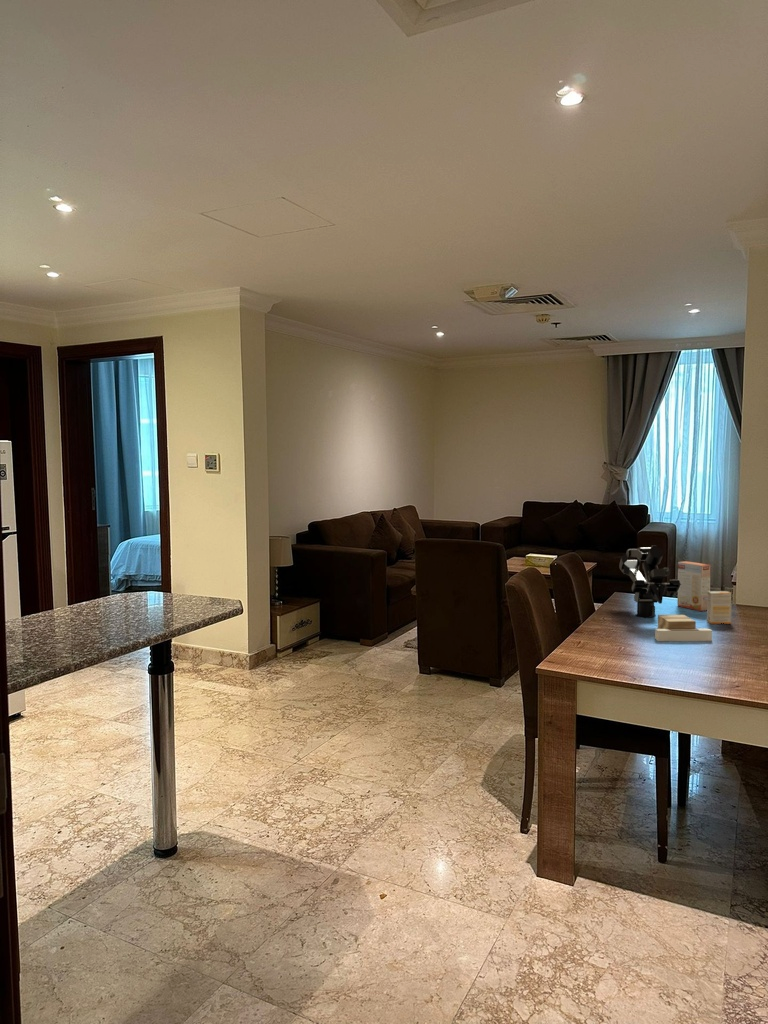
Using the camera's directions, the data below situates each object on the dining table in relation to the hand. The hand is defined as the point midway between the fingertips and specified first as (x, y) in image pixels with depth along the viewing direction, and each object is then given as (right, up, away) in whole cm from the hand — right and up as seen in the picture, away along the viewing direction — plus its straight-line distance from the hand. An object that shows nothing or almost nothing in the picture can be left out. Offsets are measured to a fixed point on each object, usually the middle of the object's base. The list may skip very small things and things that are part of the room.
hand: (660, 603), depth 293 cm
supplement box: (+26, -9, +4) cm, 27 cm away
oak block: (0, -11, -16) cm, 19 cm away
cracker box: (+28, -7, +34) cm, 44 cm away
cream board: (-1, -11, -24) cm, 26 cm away
